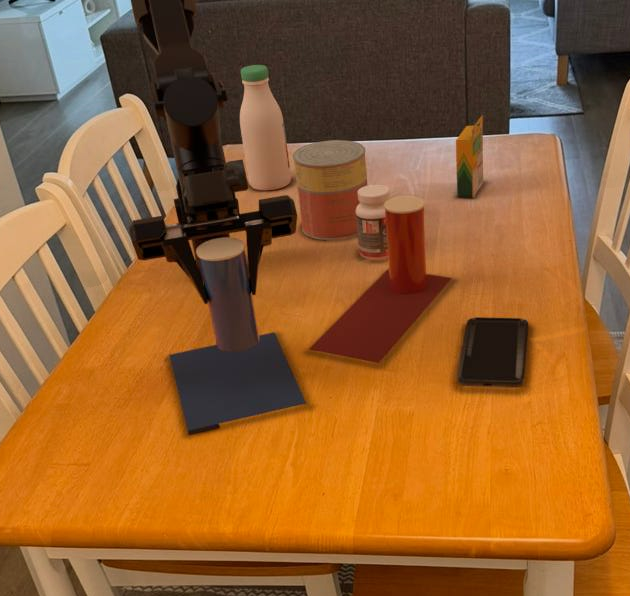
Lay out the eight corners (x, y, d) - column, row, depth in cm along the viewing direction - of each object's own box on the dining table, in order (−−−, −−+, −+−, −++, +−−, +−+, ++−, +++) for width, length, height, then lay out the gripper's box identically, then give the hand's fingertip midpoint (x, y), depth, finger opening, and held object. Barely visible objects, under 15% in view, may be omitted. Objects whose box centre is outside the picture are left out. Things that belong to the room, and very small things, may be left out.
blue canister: (223, 328, 108) (204, 237, 101) (265, 330, 107) (250, 237, 100) (209, 352, 104) (189, 258, 97) (253, 353, 103) (236, 258, 96)
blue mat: (170, 358, 115) (169, 354, 114) (275, 336, 117) (274, 332, 117) (188, 434, 101) (187, 430, 101) (307, 407, 104) (306, 403, 103)
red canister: (384, 281, 126) (378, 199, 119) (420, 273, 127) (416, 192, 120) (396, 297, 122) (391, 214, 115) (433, 289, 123) (430, 206, 116)
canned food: (376, 211, 148) (371, 139, 140) (364, 240, 139) (357, 164, 132) (310, 212, 150) (302, 140, 142) (295, 240, 141) (284, 165, 134)
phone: (528, 318, 114) (523, 382, 102) (528, 326, 114) (523, 390, 103) (467, 317, 115) (455, 379, 103) (467, 324, 116) (455, 387, 104)
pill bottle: (392, 262, 132) (388, 198, 126) (355, 261, 133) (349, 198, 127) (399, 245, 136) (395, 182, 130) (363, 245, 138) (358, 182, 132)
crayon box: (467, 181, 155) (466, 113, 148) (483, 182, 154) (484, 114, 147) (456, 197, 150) (455, 128, 143) (473, 198, 149) (473, 128, 142)
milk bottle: (289, 190, 158) (274, 72, 146) (247, 192, 159) (227, 75, 146) (293, 174, 164) (278, 60, 152) (252, 177, 165) (234, 63, 152)
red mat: (388, 271, 130) (388, 268, 129) (452, 281, 126) (452, 277, 125) (309, 352, 113) (308, 348, 113) (379, 366, 109) (378, 362, 109)
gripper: (109, 149, 93) (138, 290, 92) (283, 123, 96) (313, 259, 94) (125, 195, 104) (151, 321, 102) (281, 170, 107) (308, 292, 105)
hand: (230, 298), depth 101 cm, fingers closed on blue canister, 5 cm apart
